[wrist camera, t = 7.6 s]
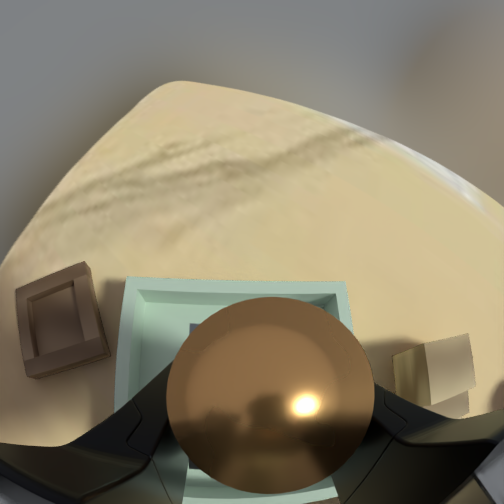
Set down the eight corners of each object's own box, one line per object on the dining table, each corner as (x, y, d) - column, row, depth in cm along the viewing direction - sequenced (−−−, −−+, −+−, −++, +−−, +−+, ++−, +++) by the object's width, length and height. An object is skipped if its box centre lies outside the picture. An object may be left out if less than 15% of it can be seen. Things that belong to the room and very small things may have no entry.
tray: (342, 479, 13) (362, 489, 10) (133, 484, 11) (118, 497, 9) (329, 298, 20) (345, 281, 17) (138, 294, 18) (126, 276, 16)
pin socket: (110, 356, 16) (104, 352, 15) (35, 378, 14) (26, 376, 13) (90, 268, 19) (84, 261, 18) (23, 295, 16) (15, 289, 15)
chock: (442, 439, 14) (477, 438, 11) (396, 459, 14) (432, 464, 10) (434, 347, 19) (468, 333, 15) (390, 356, 18) (424, 343, 14)
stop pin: (275, 430, 13) (377, 472, 4) (203, 431, 13) (169, 493, 3) (273, 364, 15) (361, 295, 6) (203, 364, 15) (171, 293, 5)
